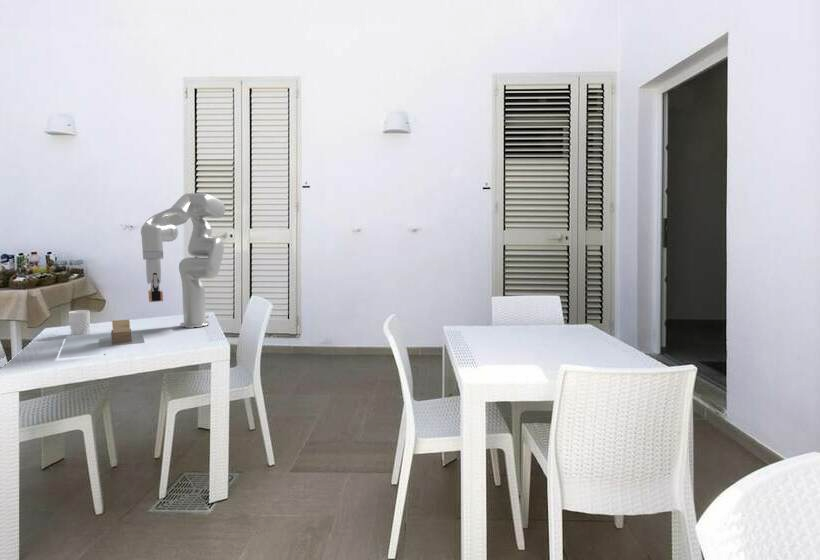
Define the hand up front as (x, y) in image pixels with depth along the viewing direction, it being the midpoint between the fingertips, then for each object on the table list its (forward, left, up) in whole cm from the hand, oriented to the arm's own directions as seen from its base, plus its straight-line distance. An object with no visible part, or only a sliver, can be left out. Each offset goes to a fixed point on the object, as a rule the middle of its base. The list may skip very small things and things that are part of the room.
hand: (155, 299), depth 231 cm
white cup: (-4, -38, -17) cm, 42 cm away
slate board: (+8, -10, -17) cm, 21 cm away
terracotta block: (0, 0, -1) cm, 1 cm away
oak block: (+8, -10, -12) cm, 18 cm away
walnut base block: (+8, -10, -16) cm, 21 cm away
